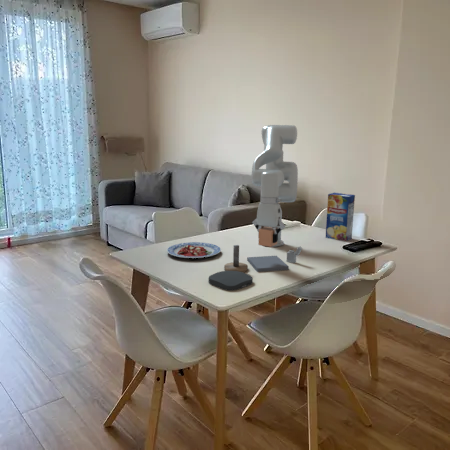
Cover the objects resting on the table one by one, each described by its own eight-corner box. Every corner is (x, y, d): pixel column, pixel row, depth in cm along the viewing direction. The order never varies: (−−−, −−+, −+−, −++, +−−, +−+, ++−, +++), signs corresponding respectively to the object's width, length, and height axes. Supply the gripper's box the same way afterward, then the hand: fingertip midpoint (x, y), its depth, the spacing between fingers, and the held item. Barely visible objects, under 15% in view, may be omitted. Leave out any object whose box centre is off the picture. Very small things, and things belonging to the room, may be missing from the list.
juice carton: (325, 237, 248) (328, 194, 243) (331, 234, 254) (334, 192, 248) (345, 241, 241) (349, 196, 235) (351, 238, 246) (355, 194, 241)
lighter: (286, 261, 206) (287, 244, 204) (288, 260, 207) (289, 243, 206) (299, 264, 202) (300, 247, 200) (301, 263, 203) (302, 246, 201)
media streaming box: (204, 283, 179) (204, 275, 178) (230, 274, 189) (230, 267, 188) (230, 293, 169) (230, 285, 168) (256, 283, 179) (256, 276, 178)
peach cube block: (264, 241, 202) (265, 226, 201) (277, 243, 199) (277, 228, 198) (258, 244, 197) (258, 229, 196) (270, 246, 194) (271, 230, 193)
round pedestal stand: (222, 266, 198) (222, 243, 196) (244, 264, 200) (244, 242, 198) (227, 273, 189) (227, 249, 186) (250, 272, 191) (250, 248, 188)
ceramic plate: (155, 256, 212) (155, 250, 211) (185, 243, 234) (185, 238, 233) (203, 265, 200) (203, 258, 200) (230, 250, 223) (230, 244, 222)
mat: (247, 260, 207) (247, 257, 206) (276, 258, 210) (276, 255, 209) (257, 271, 192) (257, 268, 191) (288, 269, 195) (288, 266, 194)
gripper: (291, 201, 193) (289, 242, 197) (255, 197, 202) (254, 236, 205) (283, 203, 186) (282, 246, 190) (247, 199, 195) (246, 240, 199)
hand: (267, 240), depth 198 cm, fingers closed on peach cube block, 5 cm apart
